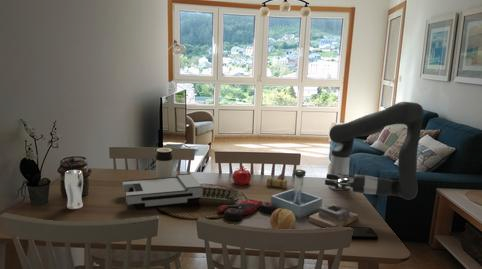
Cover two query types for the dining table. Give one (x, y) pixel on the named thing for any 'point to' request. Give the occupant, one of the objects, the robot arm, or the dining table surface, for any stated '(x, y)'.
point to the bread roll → (282, 219)
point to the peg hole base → (333, 216)
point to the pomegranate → (241, 176)
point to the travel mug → (164, 163)
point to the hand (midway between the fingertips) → (325, 179)
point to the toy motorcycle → (246, 209)
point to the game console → (163, 192)
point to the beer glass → (74, 188)
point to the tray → (286, 202)
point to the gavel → (277, 182)
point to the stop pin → (298, 186)
